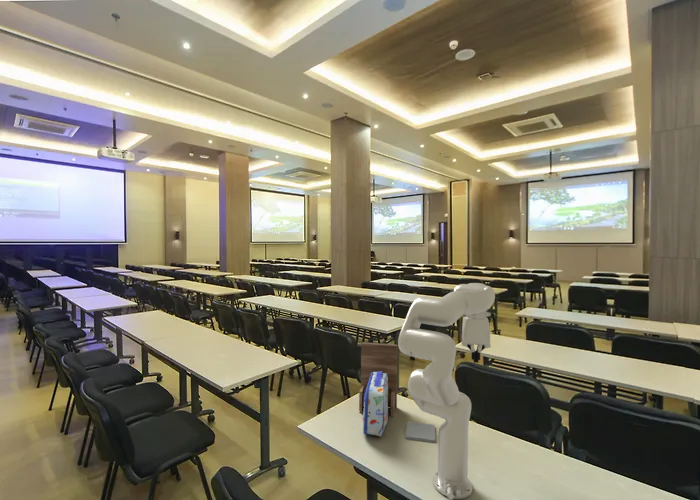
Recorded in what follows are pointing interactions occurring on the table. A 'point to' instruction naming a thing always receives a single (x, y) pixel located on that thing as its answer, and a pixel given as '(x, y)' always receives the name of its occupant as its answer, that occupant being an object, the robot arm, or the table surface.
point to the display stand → (379, 369)
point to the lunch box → (376, 404)
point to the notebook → (420, 432)
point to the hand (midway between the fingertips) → (475, 361)
